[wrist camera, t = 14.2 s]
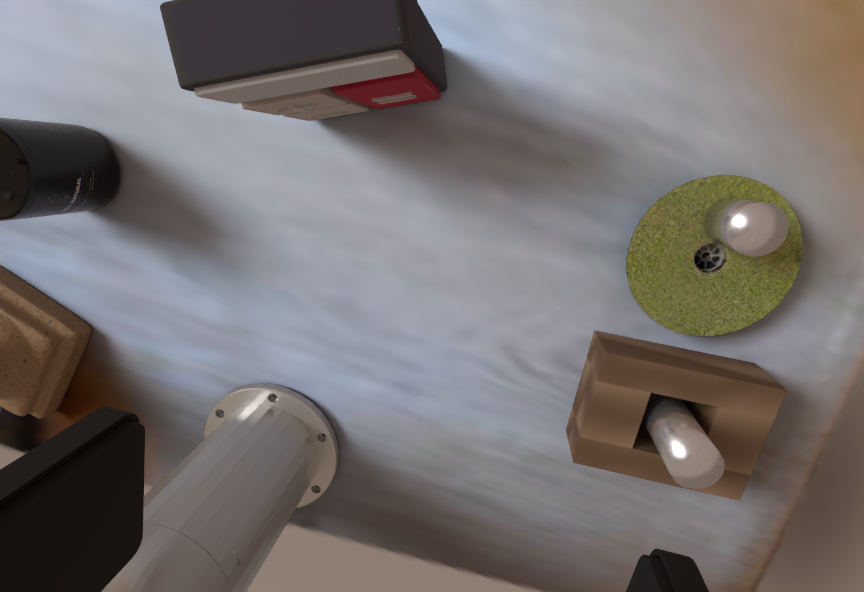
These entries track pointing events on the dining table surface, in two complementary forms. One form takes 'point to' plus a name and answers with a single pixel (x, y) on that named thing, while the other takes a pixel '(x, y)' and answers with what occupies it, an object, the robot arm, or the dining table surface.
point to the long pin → (682, 443)
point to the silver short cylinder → (746, 225)
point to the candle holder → (36, 348)
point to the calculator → (305, 54)
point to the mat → (707, 262)
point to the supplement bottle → (53, 169)
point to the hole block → (675, 377)
